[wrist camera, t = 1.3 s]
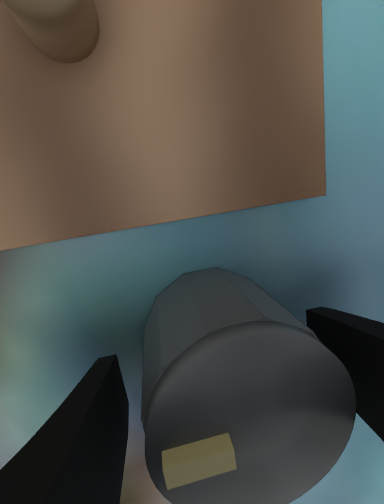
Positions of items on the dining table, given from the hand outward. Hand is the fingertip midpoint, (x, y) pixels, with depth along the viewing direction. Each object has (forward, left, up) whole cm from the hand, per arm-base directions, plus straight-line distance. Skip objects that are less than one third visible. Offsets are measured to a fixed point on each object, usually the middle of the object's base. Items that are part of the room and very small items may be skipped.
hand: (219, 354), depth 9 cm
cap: (0, 0, -2) cm, 2 cm away
